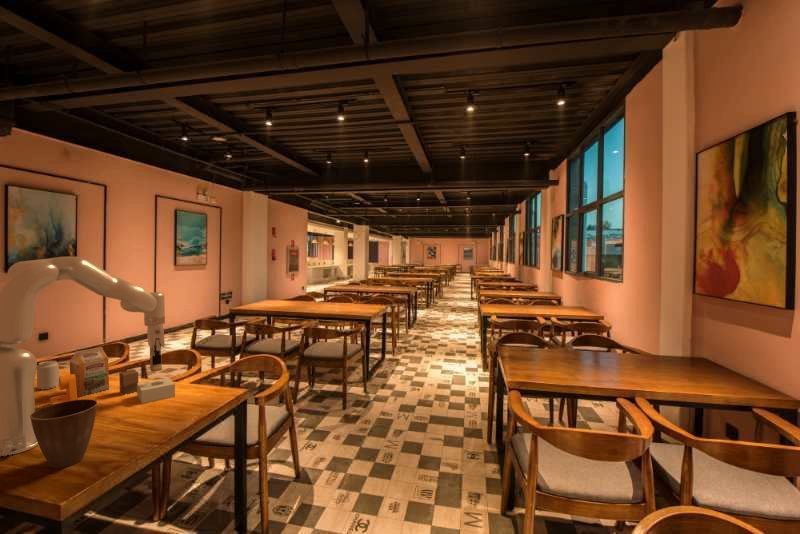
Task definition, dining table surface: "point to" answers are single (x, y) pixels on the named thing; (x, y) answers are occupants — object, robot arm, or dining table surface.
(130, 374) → the walnut square bit
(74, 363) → the milk carton
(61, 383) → the bracket
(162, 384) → the bore block
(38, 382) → the can
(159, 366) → the birch dowel
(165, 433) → the dining table surface
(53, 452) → the plant pot
